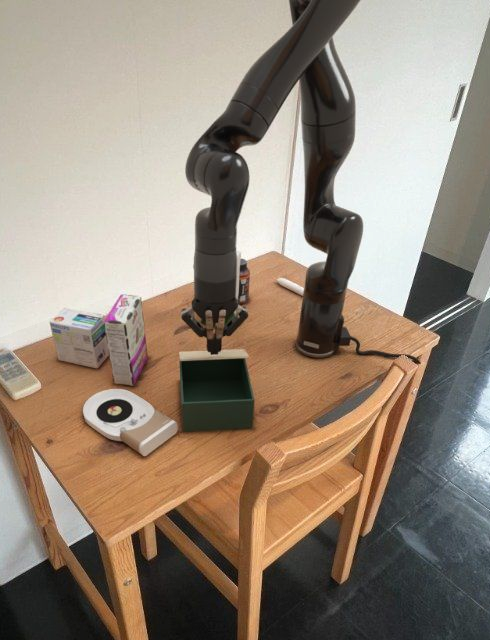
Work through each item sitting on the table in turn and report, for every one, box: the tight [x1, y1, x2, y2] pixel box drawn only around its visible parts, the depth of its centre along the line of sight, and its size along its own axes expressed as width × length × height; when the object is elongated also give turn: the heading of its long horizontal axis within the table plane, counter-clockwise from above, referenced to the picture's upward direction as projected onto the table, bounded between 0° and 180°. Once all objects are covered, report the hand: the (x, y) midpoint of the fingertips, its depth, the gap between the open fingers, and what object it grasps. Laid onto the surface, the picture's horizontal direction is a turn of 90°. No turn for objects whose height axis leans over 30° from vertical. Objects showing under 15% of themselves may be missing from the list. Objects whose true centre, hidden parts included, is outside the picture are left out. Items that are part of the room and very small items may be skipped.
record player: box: [82, 388, 179, 457], centre depth 103 cm, size 12×3×20 cm
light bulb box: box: [48, 307, 110, 369], centre depth 117 cm, size 11×7×11 cm, turn 71°
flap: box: [178, 348, 250, 361], centre depth 105 cm, size 14×8×1 cm, turn 94°
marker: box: [276, 277, 304, 297], centre depth 143 cm, size 18×2×2 cm, turn 40°
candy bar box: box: [104, 294, 149, 387], centre depth 112 cm, size 11×5×16 cm, turn 169°
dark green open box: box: [178, 356, 255, 433], centre depth 106 cm, size 14×16×7 cm
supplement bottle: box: [238, 258, 251, 305], centre depth 137 cm, size 6×6×11 cm
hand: (214, 352), depth 101 cm, fingers closed
